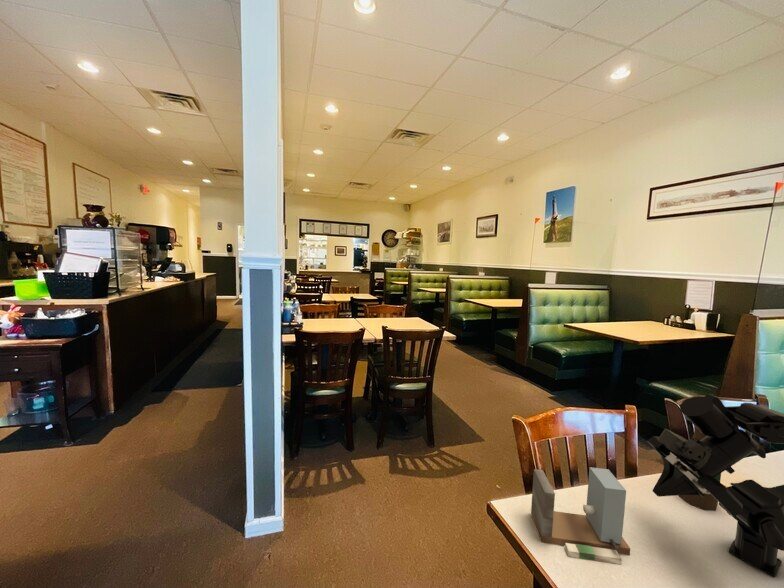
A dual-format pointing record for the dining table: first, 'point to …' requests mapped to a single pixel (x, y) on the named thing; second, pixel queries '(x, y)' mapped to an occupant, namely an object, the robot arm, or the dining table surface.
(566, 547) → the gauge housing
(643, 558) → the dining table surface
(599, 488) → the gauge carriage
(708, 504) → the beer bottle
